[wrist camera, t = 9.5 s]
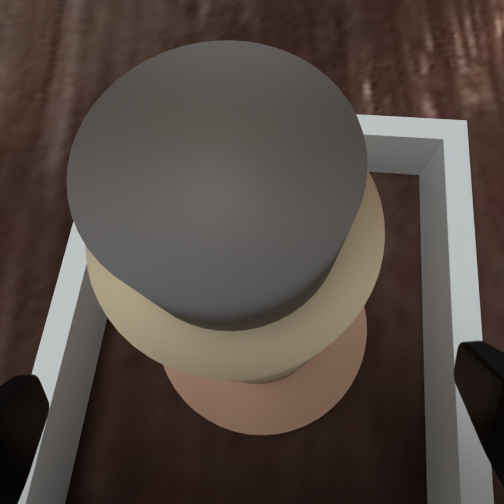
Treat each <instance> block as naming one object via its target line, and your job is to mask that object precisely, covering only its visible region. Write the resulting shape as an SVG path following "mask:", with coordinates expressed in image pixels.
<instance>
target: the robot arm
mask: <svg viewBox="0 0 504 504" xmlns="http://www.w3.org/2000/svg"><path fill="white" fill-rule="evenodd" d="M454 380H455V384H456V386H457V389H458V391H459V393H460V396H461V398H462V400H463V403H464V405H465V407H466V410H467V412H468V415H469V417H470V419H471V422H472V424H473V426H474V429H475V431H476V433H477V436H478V438H479V441H480V443H481V445H482V447H483V449H484V452H485V454H486V456H487V458H488V459H489V461H490V463H491V465H492V467H493V469H494V471H495V473H496V474H497V476H498V478H499V480H500V482H501V483H502V485H503V487H504V352H502V351H500V350H498V349H496V348H494V347H492V346H490V345H489V344H487V343H485V342H483V341H465V342H461V343H460V344H459V346H458V349H457V354H456V360H455V366H454ZM48 414H49V401H48V398H47V396H46V394H45V391H44V389H43V387H42V384H41V382H40V379H39V378H38V377H37V376H36V375H33V374H30V375H18V376H15V377H13V378H11V379H10V380H8V381H7V382H5V383H4V384H2V385H1V386H0V504H18V502H19V499H20V497H21V495H22V492H23V490H24V487H25V485H26V482H27V479H28V476H29V473H30V470H31V467H32V464H33V461H34V458H35V455H36V452H37V448H38V445H39V442H40V439H41V436H42V433H43V430H44V426H45V423H46V420H47V417H48Z"/></svg>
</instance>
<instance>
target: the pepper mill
mask: <svg viewBox="0 0 504 504" xmlns="http://www.w3.org/2000/svg"><path fill="white" fill-rule="evenodd" d="M67 195H68V202H69V207H70V211H71V215H72V218H73V221H74V223H75V226H76V228H77V231H78V233H79V235H80V236H81V238H82V240H83V242H84V243H85V250H86V262H87V268H88V272H89V277H90V281H91V284H92V287H93V290H94V292H95V295H96V297H97V300H98V302H99V304H100V305H101V307H102V309H103V311H104V312H105V314H106V316H107V317H108V319H109V320H110V321H111V323H112V324H113V325H114V326H115V328H116V329H117V330H118V331H119V333H120V334H121V335H122V336H124V337H125V338H126V339H127V340H128V341H129V342H130V343H131V344H132V345H133V346H134V347H136V348H137V349H138V350H140V351H141V352H143V353H144V354H145V355H147V356H148V357H150V358H151V359H153V360H155V361H157V362H159V363H161V364H163V365H165V366H167V367H169V368H172V369H175V370H178V371H181V372H184V373H187V374H190V375H195V376H200V377H206V378H211V379H219V380H227V381H235V382H244V383H252V384H267V383H272V382H277V381H279V380H282V379H284V378H286V377H288V376H290V375H292V374H293V373H294V372H296V371H297V370H298V369H300V368H301V367H302V366H303V365H305V364H306V363H307V362H308V361H310V360H311V359H312V358H313V357H315V356H316V355H317V354H318V353H320V352H321V351H322V350H323V349H325V348H326V347H327V346H328V345H330V344H331V343H332V342H333V341H335V340H336V339H337V338H338V337H339V336H340V335H341V334H342V333H343V332H344V331H345V330H346V329H347V328H348V327H349V326H350V325H351V323H352V322H353V321H354V319H355V318H356V317H357V315H358V314H359V313H360V311H361V310H362V309H363V307H364V305H365V303H366V301H367V300H368V298H369V296H370V294H371V292H372V290H373V288H374V285H375V283H376V280H377V277H378V275H379V272H380V267H381V263H382V258H383V254H384V241H385V227H384V215H383V210H382V206H381V201H380V197H379V194H378V192H377V189H376V186H375V183H374V181H373V179H372V177H371V175H370V173H369V171H368V163H367V148H366V144H365V139H364V134H363V131H362V128H361V125H360V123H359V120H358V117H357V115H356V114H355V112H354V110H353V108H352V106H351V104H350V103H349V101H348V100H347V98H346V97H345V96H344V94H343V93H342V92H341V90H340V89H339V88H338V87H337V86H336V85H335V84H334V83H333V82H332V81H331V80H330V79H329V78H328V77H327V76H326V75H325V74H323V73H322V72H321V71H319V70H318V69H317V68H316V67H314V66H313V65H311V64H309V63H308V62H306V61H304V60H303V59H301V58H299V57H297V56H295V55H293V54H290V53H288V52H286V51H284V50H280V49H277V48H274V47H271V46H268V45H263V44H258V43H253V42H244V41H210V42H201V43H195V44H191V45H186V46H182V47H178V48H175V49H172V50H169V51H166V52H164V53H161V54H159V55H157V56H155V57H152V58H150V59H148V60H146V61H145V62H143V63H141V64H139V65H138V66H136V67H134V68H133V69H131V70H130V71H128V72H127V73H126V74H124V75H123V76H122V77H120V78H119V79H118V80H117V81H116V82H114V83H113V84H112V85H111V86H110V87H109V88H108V89H107V90H106V91H105V92H104V93H103V94H102V95H101V97H100V98H99V99H98V100H97V101H96V102H95V104H94V105H93V106H92V108H91V109H90V111H89V112H88V114H87V115H86V117H85V118H84V120H83V122H82V124H81V126H80V128H79V130H78V132H77V134H76V137H75V140H74V143H73V145H72V148H71V153H70V157H69V162H68V169H67Z"/></svg>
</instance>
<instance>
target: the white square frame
mask: <svg viewBox="0 0 504 504" xmlns="http://www.w3.org/2000/svg"><path fill="white" fill-rule="evenodd" d="M357 117H358V120H359V123H360V125H361V128H362V131H363V134H364V139H365V144H366V148H367V163H368V171H369V172H380V173H395V174H409V175H419V193H420V233H421V273H422V313H423V353H424V394H425V434H426V474H427V504H494V496H493V482H492V468H491V463H490V461H489V459H488V458H487V456H486V454H485V452H484V449H483V447H482V445H481V443H480V441H479V438H478V436H477V433H476V431H475V429H474V426H473V424H472V422H471V419H470V417H469V415H468V412H467V410H466V407H465V405H464V403H463V400H462V398H461V396H460V393H459V391H458V389H457V386H456V384H455V380H454V366H455V360H456V354H457V349H458V346H459V344H460V343H461V342H465V341H482V328H481V314H480V300H479V286H478V272H477V257H476V243H475V229H474V215H473V201H472V187H471V173H470V159H469V145H468V131H467V121H464V120H446V119H428V118H410V117H392V116H374V115H357ZM106 321H107V316H106V314H105V312H104V311H103V309H102V307H101V305H100V304H99V302H98V300H97V297H96V295H95V292H94V290H93V287H92V284H91V281H90V277H89V272H88V268H87V262H86V250H85V243H84V242H83V240H82V238H81V236H80V235H79V233H78V231H77V228H76V226H75V223H74V222H73V226H72V229H71V233H70V236H69V240H68V244H67V247H66V251H65V255H64V258H63V262H62V266H61V269H60V273H59V277H58V280H57V284H56V288H55V291H54V295H53V298H52V302H51V306H50V309H49V313H48V317H47V320H46V324H45V328H44V331H43V335H42V339H41V342H40V346H39V350H38V353H37V357H36V360H35V364H34V368H33V371H32V374H33V375H36V376H37V377H38V378H39V379H40V382H41V384H42V387H43V389H44V391H45V394H46V396H47V398H48V401H49V414H48V417H47V420H46V423H45V426H44V430H43V433H42V436H41V439H40V442H39V445H38V448H37V452H36V455H35V458H34V461H33V464H32V467H31V470H30V473H29V476H28V479H27V482H26V485H25V487H24V490H23V492H22V495H21V497H20V499H19V502H18V504H65V502H66V498H67V494H68V489H69V485H70V480H71V476H72V471H73V467H74V463H75V458H76V454H77V449H78V445H79V441H80V436H81V432H82V427H83V423H84V418H85V414H86V410H87V405H88V401H89V396H90V392H91V388H92V383H93V379H94V374H95V370H96V365H97V361H98V357H99V352H100V348H101V343H102V339H103V335H104V330H105V326H106ZM366 336H367V323H366V313H365V308H364V307H363V309H362V310H361V311H360V313H359V314H358V315H357V317H356V318H355V319H354V321H353V322H352V323H351V325H350V326H349V327H348V328H347V329H346V330H345V331H344V332H343V333H342V334H341V335H340V336H339V337H338V338H337V339H336V340H335V341H333V342H332V343H331V344H330V345H328V346H327V347H326V348H325V349H323V350H322V351H321V352H320V353H318V354H317V355H316V356H315V357H313V358H312V359H311V360H310V361H308V362H307V363H306V364H305V365H303V366H302V367H301V368H300V369H298V370H297V371H296V372H294V373H293V374H292V375H290V376H288V377H286V378H284V379H282V380H279V381H277V382H272V383H267V384H252V383H244V382H235V381H227V380H219V379H211V378H206V377H200V376H195V375H190V374H187V373H184V372H181V371H178V370H175V369H172V368H169V367H167V366H165V365H163V366H164V368H165V371H166V373H167V375H168V378H169V379H170V381H171V383H172V384H173V386H174V388H175V389H176V391H177V392H178V393H179V395H180V396H181V397H182V398H183V400H184V401H185V402H186V403H187V404H188V405H189V406H190V407H191V408H192V409H193V410H194V411H196V412H197V413H198V414H200V415H201V416H203V417H204V418H205V419H207V420H209V421H211V422H212V423H214V424H216V425H218V426H220V427H223V428H226V429H228V430H231V431H234V432H239V433H244V434H250V435H272V434H280V433H285V432H289V431H293V430H296V429H298V428H301V427H303V426H306V425H308V424H310V423H311V422H313V421H315V420H317V419H318V418H320V417H321V416H323V415H324V414H325V413H327V412H328V411H329V410H330V409H332V408H333V407H334V406H335V405H336V404H337V403H338V402H339V401H340V399H341V398H342V397H343V396H344V395H345V393H346V392H347V390H348V389H349V388H350V386H351V385H352V383H353V381H354V379H355V377H356V375H357V373H358V371H359V368H360V365H361V363H362V360H363V356H364V351H365V347H366Z"/></svg>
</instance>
